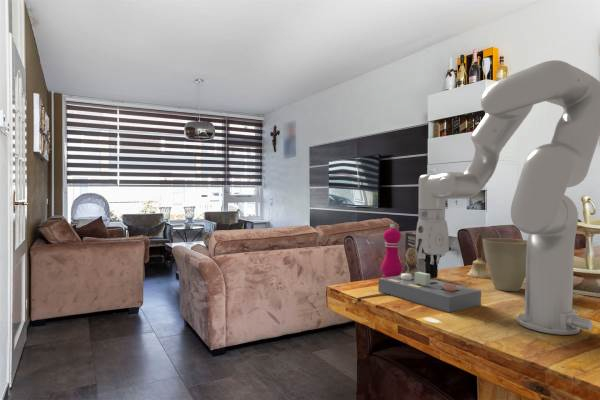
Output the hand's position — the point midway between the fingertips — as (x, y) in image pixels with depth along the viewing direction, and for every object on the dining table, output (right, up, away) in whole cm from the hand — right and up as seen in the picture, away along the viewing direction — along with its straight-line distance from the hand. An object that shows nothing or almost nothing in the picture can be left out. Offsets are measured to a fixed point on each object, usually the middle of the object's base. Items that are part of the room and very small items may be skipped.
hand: (431, 276), depth 120 cm
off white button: (-6, -3, +6) cm, 9 cm away
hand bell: (+29, -6, +32) cm, 43 cm away
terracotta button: (+3, -3, -7) cm, 8 cm away
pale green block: (-3, -5, -2) cm, 6 cm away
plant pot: (+29, -6, +12) cm, 32 cm away
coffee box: (+5, -6, +30) cm, 31 cm away
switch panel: (-1, -6, 0) cm, 6 cm away
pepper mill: (-7, -6, +22) cm, 24 cm away
